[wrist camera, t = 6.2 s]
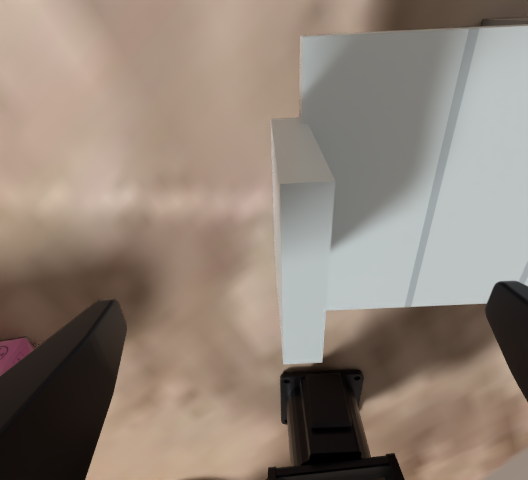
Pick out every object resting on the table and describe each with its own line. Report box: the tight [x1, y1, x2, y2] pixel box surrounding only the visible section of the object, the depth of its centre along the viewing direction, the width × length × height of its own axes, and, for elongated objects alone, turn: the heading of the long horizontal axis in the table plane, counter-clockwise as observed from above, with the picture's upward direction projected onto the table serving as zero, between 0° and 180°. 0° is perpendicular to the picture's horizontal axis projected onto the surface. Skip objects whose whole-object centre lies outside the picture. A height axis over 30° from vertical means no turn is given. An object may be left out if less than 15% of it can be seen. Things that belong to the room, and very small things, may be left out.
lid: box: [271, 24, 528, 364], centre depth 12 cm, size 11×16×6 cm
